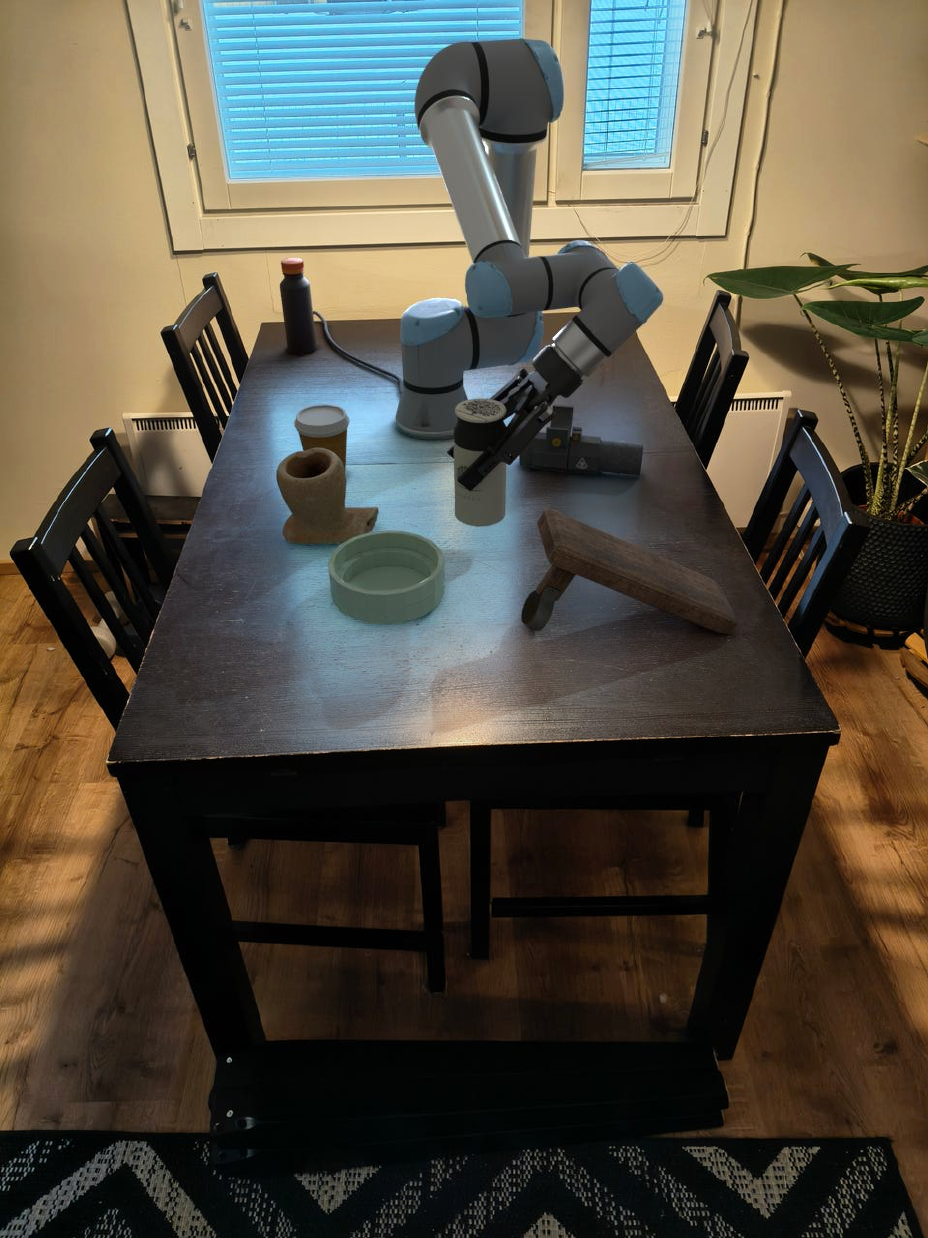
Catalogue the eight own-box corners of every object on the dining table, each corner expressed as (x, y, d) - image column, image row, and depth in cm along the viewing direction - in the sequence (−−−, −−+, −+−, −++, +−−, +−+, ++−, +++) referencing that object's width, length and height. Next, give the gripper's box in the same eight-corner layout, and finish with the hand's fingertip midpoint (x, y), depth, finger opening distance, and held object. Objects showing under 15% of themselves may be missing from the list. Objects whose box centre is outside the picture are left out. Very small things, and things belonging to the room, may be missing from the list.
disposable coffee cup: (364, 470, 166) (359, 408, 159) (336, 494, 159) (330, 430, 152) (319, 460, 170) (312, 399, 162) (290, 483, 163) (282, 420, 155)
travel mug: (479, 496, 148) (480, 392, 137) (515, 514, 144) (519, 408, 133) (444, 515, 144) (441, 408, 133) (480, 534, 139) (480, 426, 128)
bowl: (314, 583, 138) (310, 550, 134) (411, 552, 145) (409, 519, 141) (361, 642, 127) (358, 607, 123) (465, 605, 133) (464, 571, 130)
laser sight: (638, 488, 160) (645, 436, 154) (511, 477, 164) (513, 425, 158) (640, 462, 168) (647, 411, 162) (519, 452, 171) (521, 402, 165)
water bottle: (314, 354, 211) (305, 265, 199) (285, 354, 211) (273, 265, 199) (318, 343, 216) (309, 256, 204) (290, 343, 216) (279, 256, 204)
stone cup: (276, 557, 144) (263, 472, 135) (290, 517, 153) (278, 436, 144) (372, 558, 143) (365, 473, 134) (380, 518, 153) (374, 436, 144)
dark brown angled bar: (659, 654, 142) (490, 588, 131) (720, 579, 134) (545, 503, 124) (677, 699, 133) (498, 632, 123) (742, 622, 126) (558, 544, 115)
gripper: (606, 407, 125) (489, 520, 132) (565, 350, 141) (463, 453, 148) (571, 373, 121) (452, 491, 128) (533, 318, 137) (430, 426, 144)
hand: (458, 471), depth 138 cm, fingers closed on travel mug, 8 cm apart
